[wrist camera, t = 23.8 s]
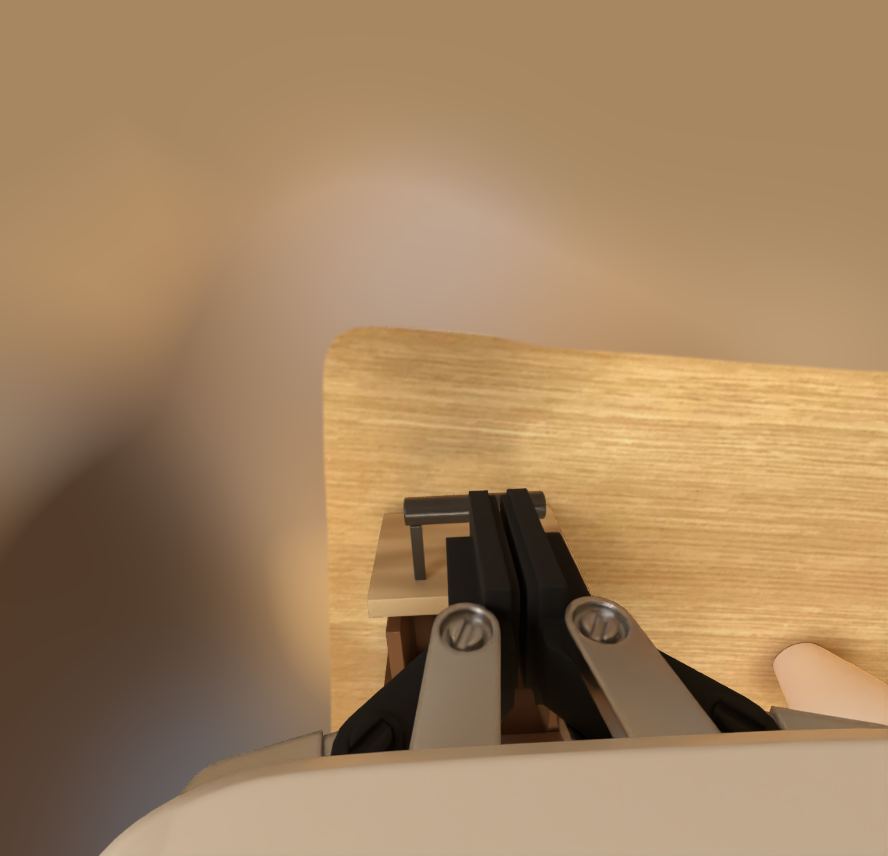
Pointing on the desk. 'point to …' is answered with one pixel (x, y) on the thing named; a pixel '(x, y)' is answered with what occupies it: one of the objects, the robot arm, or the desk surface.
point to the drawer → (437, 587)
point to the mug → (829, 685)
